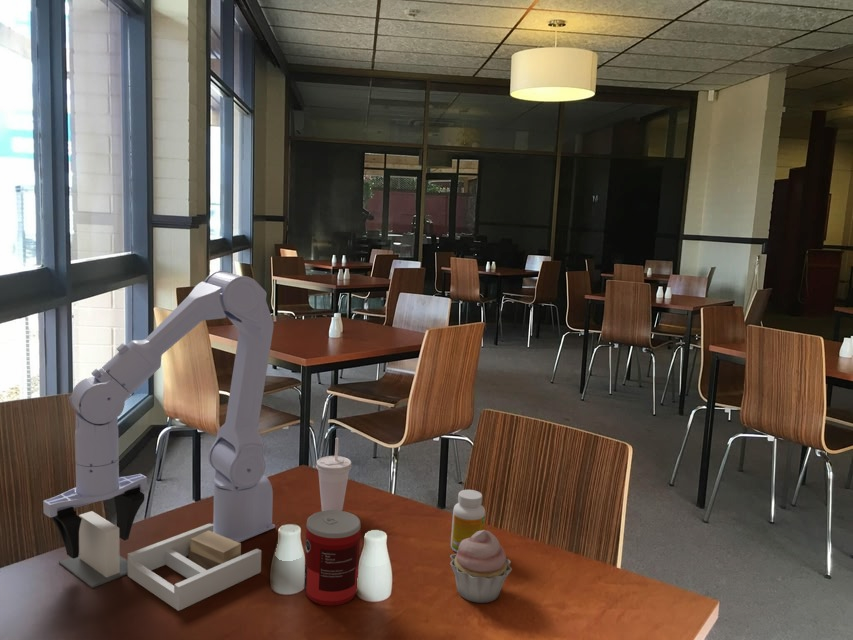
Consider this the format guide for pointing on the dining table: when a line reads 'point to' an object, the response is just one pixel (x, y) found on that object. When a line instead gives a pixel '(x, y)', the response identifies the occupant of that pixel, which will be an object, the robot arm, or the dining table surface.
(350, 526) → the canned food
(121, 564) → the mat
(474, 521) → the supplement bottle
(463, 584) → the cupcake
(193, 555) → the offcut low
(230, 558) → the offcut top
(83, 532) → the cream rectangular block
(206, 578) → the rack
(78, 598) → the dining table surface
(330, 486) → the smoothie
